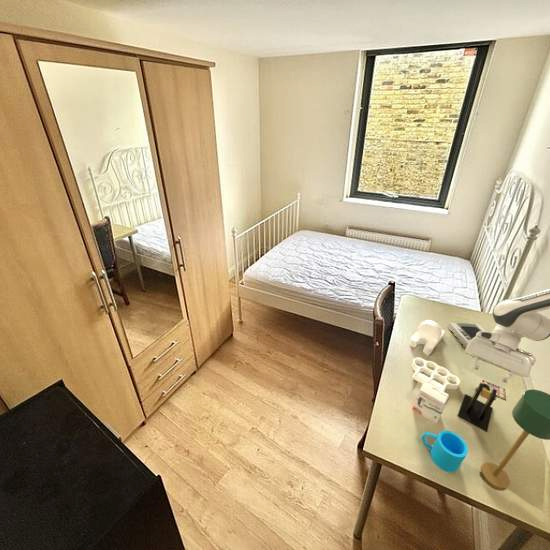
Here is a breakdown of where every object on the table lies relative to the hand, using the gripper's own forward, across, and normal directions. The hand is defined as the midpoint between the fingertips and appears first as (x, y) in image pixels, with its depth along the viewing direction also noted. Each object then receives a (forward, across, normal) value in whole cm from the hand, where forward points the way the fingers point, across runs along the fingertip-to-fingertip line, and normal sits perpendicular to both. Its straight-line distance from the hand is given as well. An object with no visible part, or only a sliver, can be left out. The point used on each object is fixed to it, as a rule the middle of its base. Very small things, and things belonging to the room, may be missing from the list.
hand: (489, 375), depth 110 cm
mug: (+33, +6, +20) cm, 39 cm away
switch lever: (+8, 0, +5) cm, 10 cm away
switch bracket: (+15, 0, +3) cm, 16 cm away
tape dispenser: (-5, +25, -18) cm, 32 cm away
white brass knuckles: (+11, +16, -2) cm, 20 cm away
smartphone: (+1, -3, -12) cm, 12 cm away
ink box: (+24, +13, +11) cm, 30 cm away
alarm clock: (-17, +8, -30) cm, 36 cm away
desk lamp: (+30, -8, +17) cm, 36 cm away
